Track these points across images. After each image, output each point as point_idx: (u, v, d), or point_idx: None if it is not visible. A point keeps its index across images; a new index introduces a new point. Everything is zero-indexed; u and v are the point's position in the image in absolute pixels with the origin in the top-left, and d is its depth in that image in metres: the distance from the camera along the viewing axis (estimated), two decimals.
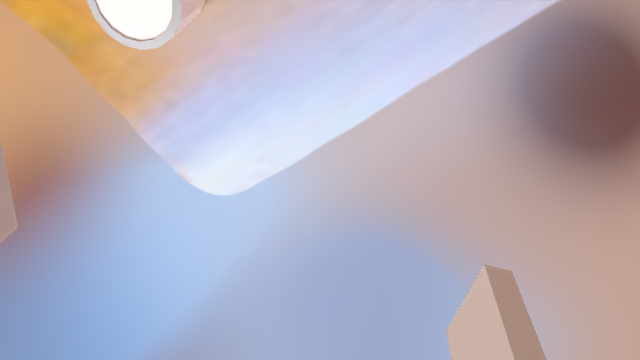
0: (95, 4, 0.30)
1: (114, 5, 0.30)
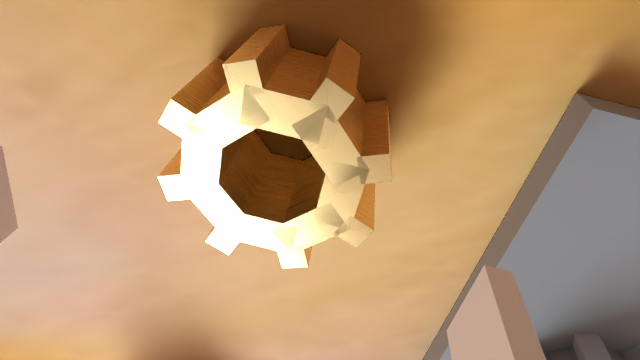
0: None
1: None
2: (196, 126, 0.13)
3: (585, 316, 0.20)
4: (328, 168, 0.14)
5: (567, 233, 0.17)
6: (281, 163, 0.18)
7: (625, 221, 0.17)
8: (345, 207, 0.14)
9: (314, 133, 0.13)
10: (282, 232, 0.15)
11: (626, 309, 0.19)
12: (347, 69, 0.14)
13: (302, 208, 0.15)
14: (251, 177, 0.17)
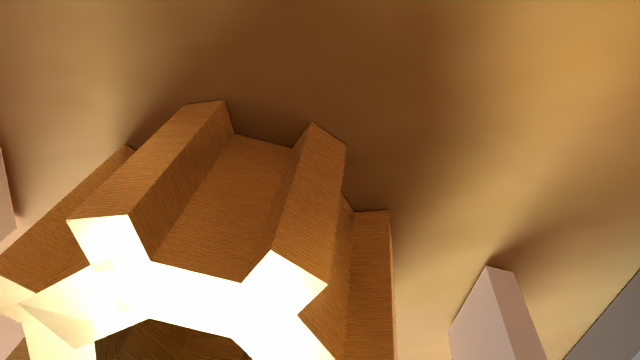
0: None
1: None
2: (42, 309, 0.07)
3: None
4: None
5: None
6: None
7: None
8: None
9: (254, 330, 0.07)
10: None
11: None
12: (319, 199, 0.08)
13: None
14: (174, 337, 0.10)
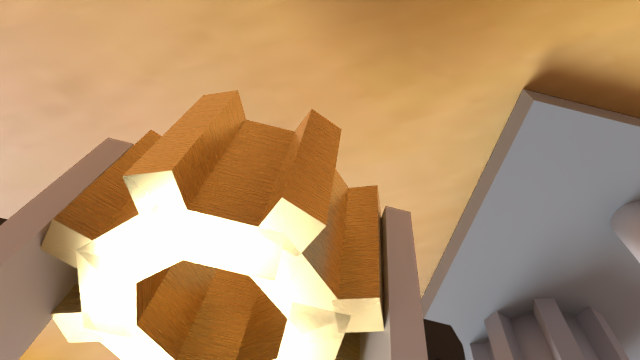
0: None
1: None
2: (95, 255, 0.09)
3: (542, 282, 0.23)
4: (291, 311, 0.09)
5: (521, 208, 0.21)
6: None
7: (568, 196, 0.20)
8: (318, 359, 0.10)
9: (267, 268, 0.09)
10: None
11: (575, 275, 0.22)
12: (318, 166, 0.10)
13: (259, 351, 0.11)
14: (194, 294, 0.12)
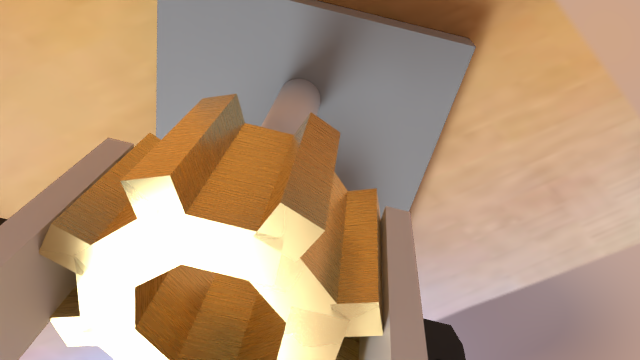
0: None
1: None
2: (93, 259, 0.09)
3: None
4: (290, 316, 0.09)
5: (194, 90, 0.21)
6: None
7: (230, 75, 0.20)
8: None
9: (266, 272, 0.09)
10: None
11: None
12: (317, 170, 0.10)
13: (258, 355, 0.11)
14: (193, 297, 0.12)
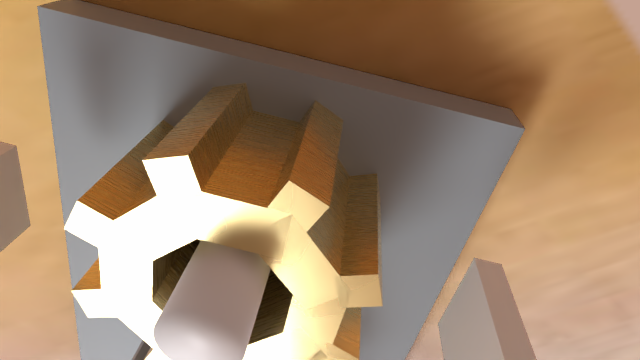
0: None
1: None
2: (115, 234, 0.10)
3: None
4: (296, 288, 0.10)
5: None
6: None
7: None
8: (321, 333, 0.11)
9: (274, 246, 0.10)
10: None
11: None
12: (322, 153, 0.10)
13: (266, 326, 0.12)
14: None
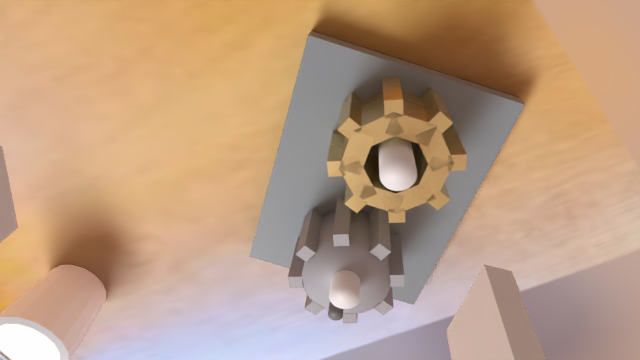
0: None
1: (11, 348, 0.35)
2: (359, 133, 0.24)
3: (340, 183, 0.31)
4: (430, 160, 0.24)
5: (315, 120, 0.29)
6: None
7: None
8: (436, 184, 0.25)
9: (426, 140, 0.24)
10: (394, 199, 0.26)
11: None
12: (442, 106, 0.25)
13: None
14: (370, 166, 0.27)
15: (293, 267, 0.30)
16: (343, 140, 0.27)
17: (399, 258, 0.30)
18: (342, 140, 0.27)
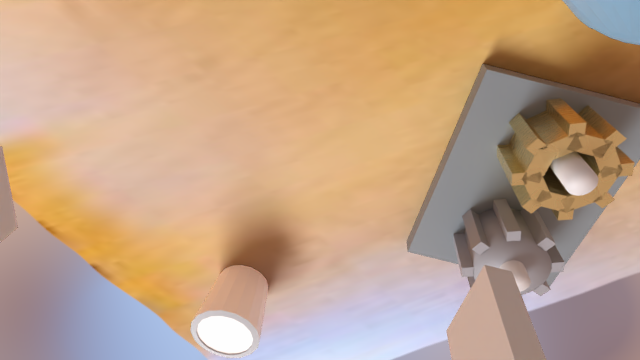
0: (197, 335, 0.42)
1: (210, 336, 0.42)
2: (544, 150, 0.29)
3: (497, 187, 0.36)
4: (602, 169, 0.30)
5: (482, 137, 0.34)
6: None
7: (510, 128, 0.34)
8: (604, 188, 0.30)
9: (601, 153, 0.29)
10: (566, 201, 0.31)
11: None
12: None
13: None
14: None
15: (462, 259, 0.36)
16: (513, 153, 0.33)
17: (553, 248, 0.36)
18: (511, 153, 0.33)
